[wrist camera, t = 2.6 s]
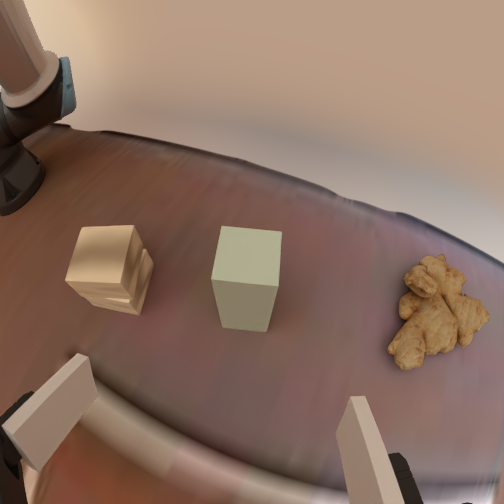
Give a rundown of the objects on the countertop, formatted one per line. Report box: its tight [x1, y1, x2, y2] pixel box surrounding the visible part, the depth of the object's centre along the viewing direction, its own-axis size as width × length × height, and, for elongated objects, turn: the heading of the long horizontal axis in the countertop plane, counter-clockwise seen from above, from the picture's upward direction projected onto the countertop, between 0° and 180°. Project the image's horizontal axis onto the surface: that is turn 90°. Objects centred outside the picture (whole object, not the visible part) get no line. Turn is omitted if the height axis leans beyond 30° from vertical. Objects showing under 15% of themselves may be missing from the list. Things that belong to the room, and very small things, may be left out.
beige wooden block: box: [85, 249, 154, 315], centre depth 32 cm, size 7×7×4 cm
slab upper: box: [65, 225, 144, 300], centre depth 28 cm, size 7×7×4 cm
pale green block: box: [211, 226, 282, 332], centre depth 27 cm, size 5×5×12 cm
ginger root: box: [387, 254, 490, 370], centre depth 29 cm, size 16×16×8 cm
